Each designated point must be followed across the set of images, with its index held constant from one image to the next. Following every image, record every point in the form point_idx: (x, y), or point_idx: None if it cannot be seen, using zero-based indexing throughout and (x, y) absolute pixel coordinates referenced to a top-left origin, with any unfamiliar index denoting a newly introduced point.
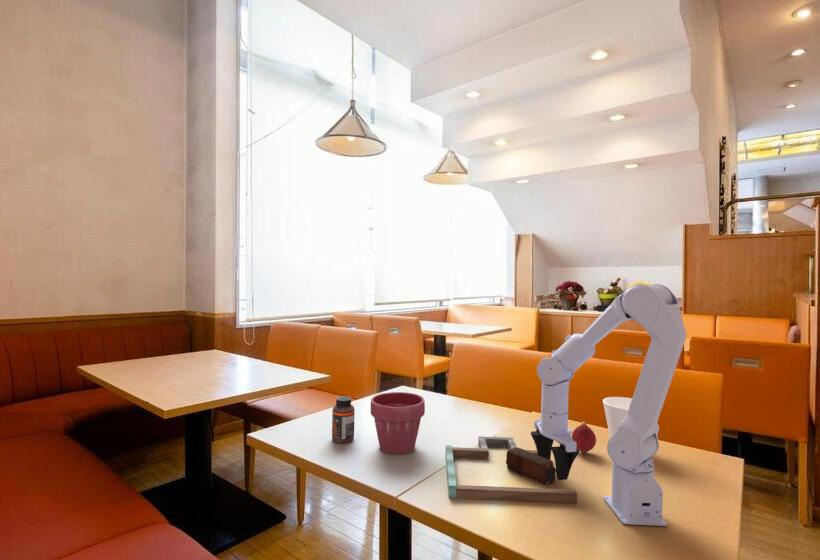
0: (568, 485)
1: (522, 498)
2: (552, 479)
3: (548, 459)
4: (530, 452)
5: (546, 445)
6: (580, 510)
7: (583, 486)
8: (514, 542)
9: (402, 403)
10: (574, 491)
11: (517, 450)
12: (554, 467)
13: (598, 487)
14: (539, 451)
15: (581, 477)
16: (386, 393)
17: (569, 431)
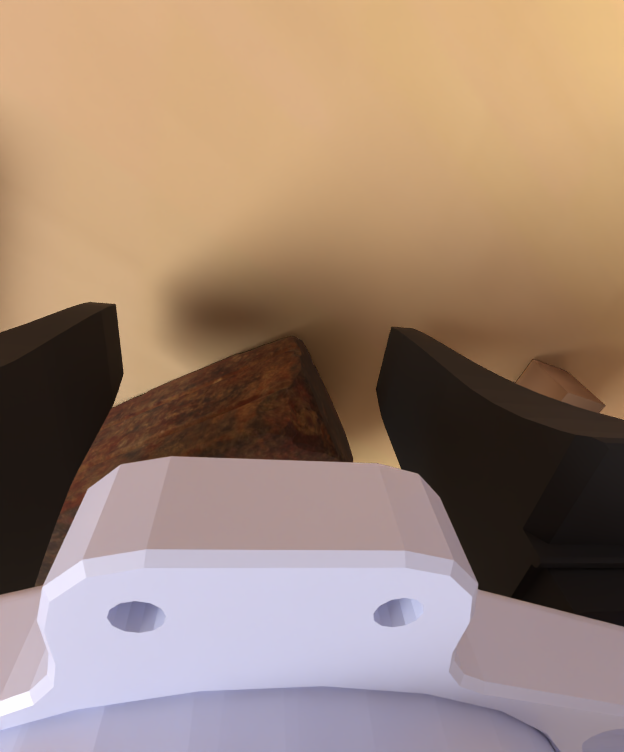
0: (381, 279)
1: None
2: (318, 376)
3: (246, 447)
4: (71, 515)
5: (29, 437)
6: (616, 392)
7: (441, 171)
8: None
9: None
10: (578, 403)
11: (35, 585)
12: (298, 389)
13: (518, 34)
14: (77, 463)
15: (303, 48)
16: None
17: (455, 646)
